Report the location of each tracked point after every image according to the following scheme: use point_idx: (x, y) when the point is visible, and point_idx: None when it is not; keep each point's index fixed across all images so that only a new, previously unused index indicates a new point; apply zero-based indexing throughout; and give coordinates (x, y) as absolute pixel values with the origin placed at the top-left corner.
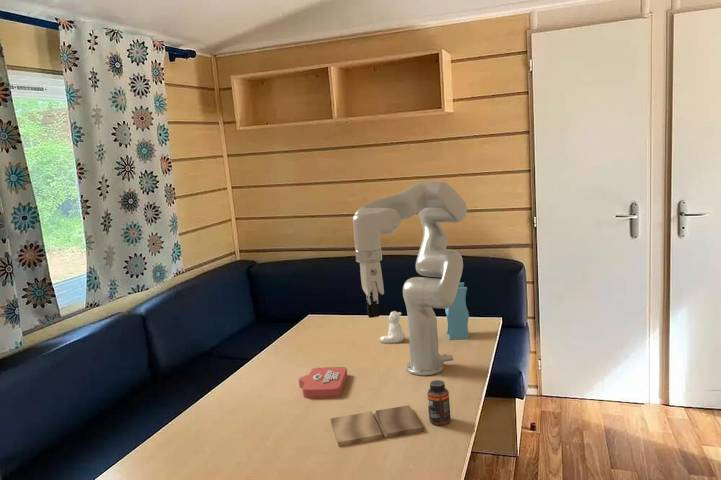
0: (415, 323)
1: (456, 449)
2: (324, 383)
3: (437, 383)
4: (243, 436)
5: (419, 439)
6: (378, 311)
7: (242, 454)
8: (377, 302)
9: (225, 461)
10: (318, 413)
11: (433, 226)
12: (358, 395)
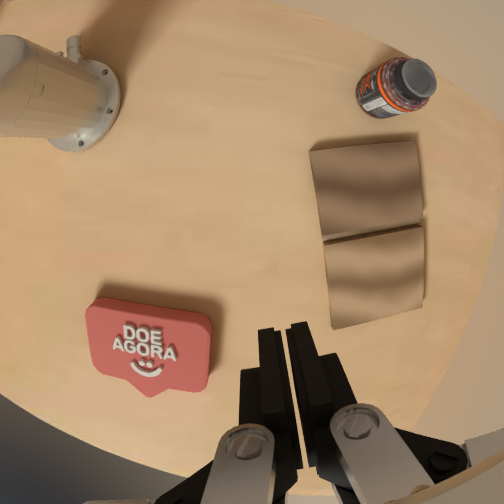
0: (14, 99)
1: (465, 104)
2: (176, 354)
3: (424, 78)
4: None
5: (434, 155)
6: (315, 349)
7: None
8: (381, 422)
9: None
10: (286, 351)
11: None
12: (209, 273)
